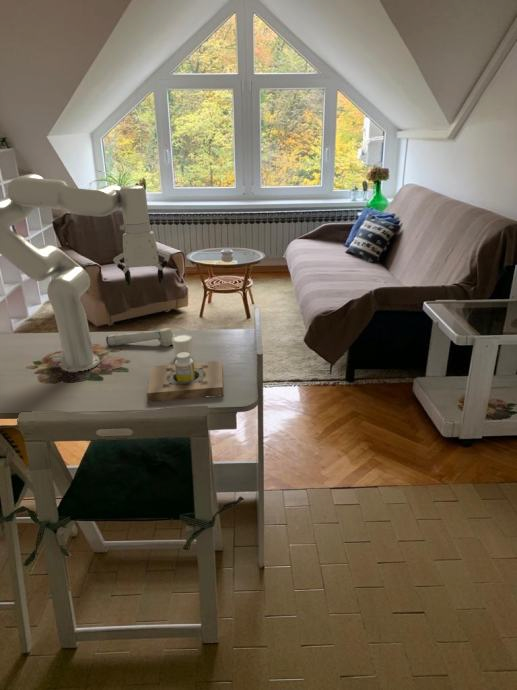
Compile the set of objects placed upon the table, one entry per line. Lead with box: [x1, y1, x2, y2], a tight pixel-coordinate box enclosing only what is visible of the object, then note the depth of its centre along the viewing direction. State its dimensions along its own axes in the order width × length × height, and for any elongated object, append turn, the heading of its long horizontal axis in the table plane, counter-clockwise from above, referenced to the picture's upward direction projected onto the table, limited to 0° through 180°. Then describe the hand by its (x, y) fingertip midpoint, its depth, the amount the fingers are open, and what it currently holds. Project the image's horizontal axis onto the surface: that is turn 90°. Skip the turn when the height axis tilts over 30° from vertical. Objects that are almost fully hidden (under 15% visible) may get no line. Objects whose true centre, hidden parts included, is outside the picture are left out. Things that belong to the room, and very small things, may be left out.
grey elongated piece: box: [105, 327, 177, 347], centre depth 199 cm, size 5×7×25 cm
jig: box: [146, 360, 224, 403], centre depth 168 cm, size 22×18×3 cm
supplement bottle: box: [174, 352, 196, 382], centre depth 167 cm, size 6×6×10 cm
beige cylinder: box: [172, 333, 193, 360], centre depth 187 cm, size 7×7×7 cm
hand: (145, 282), depth 172 cm, fingers open, 9 cm apart
